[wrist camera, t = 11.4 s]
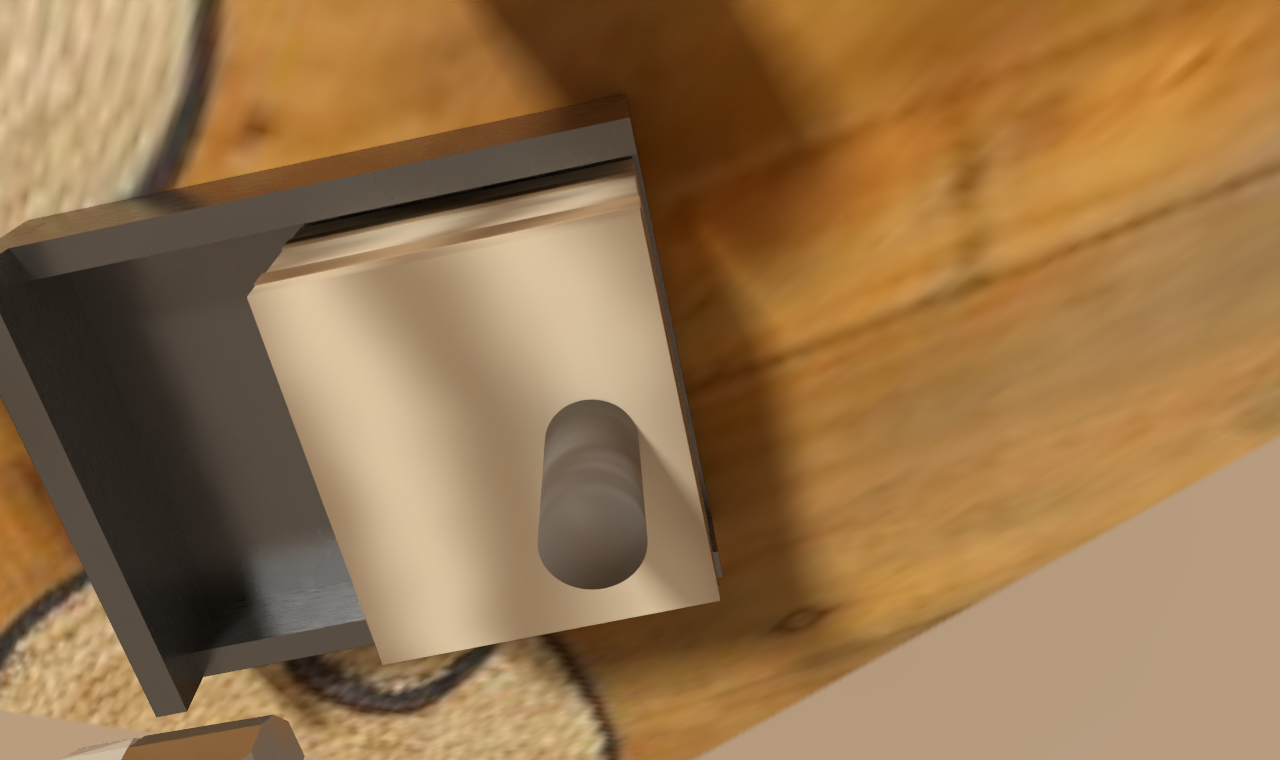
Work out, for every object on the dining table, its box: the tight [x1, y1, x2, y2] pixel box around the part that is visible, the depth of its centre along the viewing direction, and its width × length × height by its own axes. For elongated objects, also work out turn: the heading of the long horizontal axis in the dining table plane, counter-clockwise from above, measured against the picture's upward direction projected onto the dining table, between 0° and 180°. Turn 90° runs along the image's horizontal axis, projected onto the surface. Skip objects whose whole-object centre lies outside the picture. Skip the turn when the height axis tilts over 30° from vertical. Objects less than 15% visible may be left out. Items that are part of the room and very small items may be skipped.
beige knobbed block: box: [247, 159, 720, 665], centre depth 37 cm, size 12×14×13 cm
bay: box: [0, 94, 723, 717], centre depth 42 cm, size 22×18×6 cm
